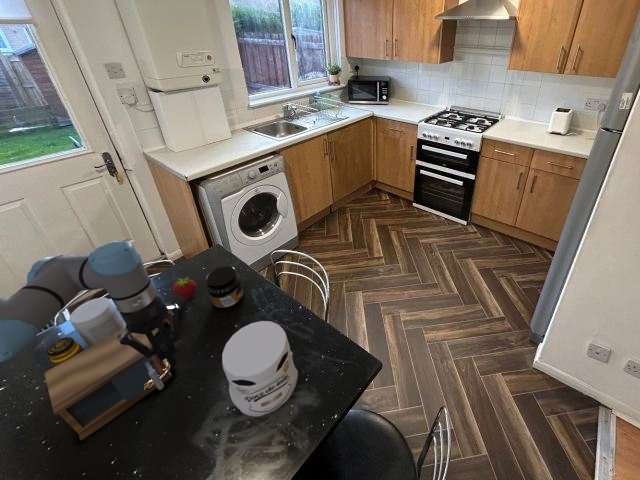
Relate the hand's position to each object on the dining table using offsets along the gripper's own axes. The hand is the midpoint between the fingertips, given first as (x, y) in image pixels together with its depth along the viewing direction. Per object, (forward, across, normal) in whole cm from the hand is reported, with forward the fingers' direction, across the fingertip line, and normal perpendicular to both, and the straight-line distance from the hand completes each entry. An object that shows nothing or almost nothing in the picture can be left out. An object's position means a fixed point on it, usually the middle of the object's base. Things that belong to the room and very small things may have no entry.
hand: (172, 362), depth 83 cm
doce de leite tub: (+9, +14, -20) cm, 26 cm away
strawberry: (+9, +14, +30) cm, 34 cm away
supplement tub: (+9, -9, +30) cm, 33 cm away
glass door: (+7, -7, +2) cm, 10 cm away
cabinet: (+9, -12, +11) cm, 18 cm away
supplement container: (+9, +23, +18) cm, 30 cm away
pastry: (+9, +4, +26) cm, 28 cm away
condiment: (+9, -18, +26) cm, 33 cm away
